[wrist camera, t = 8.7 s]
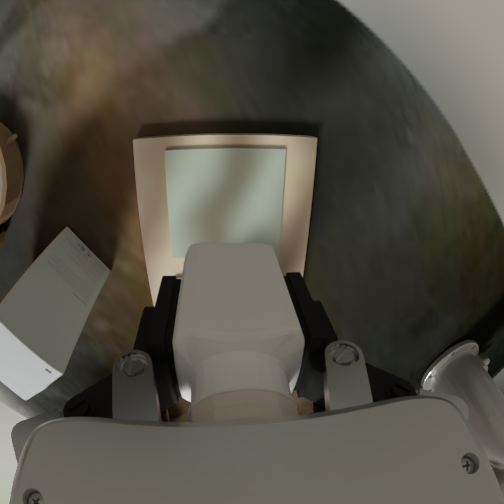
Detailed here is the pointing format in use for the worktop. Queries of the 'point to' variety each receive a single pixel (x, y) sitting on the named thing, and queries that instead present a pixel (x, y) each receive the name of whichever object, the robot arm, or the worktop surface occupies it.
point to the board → (223, 196)
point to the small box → (47, 314)
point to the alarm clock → (9, 175)
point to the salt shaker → (236, 334)
